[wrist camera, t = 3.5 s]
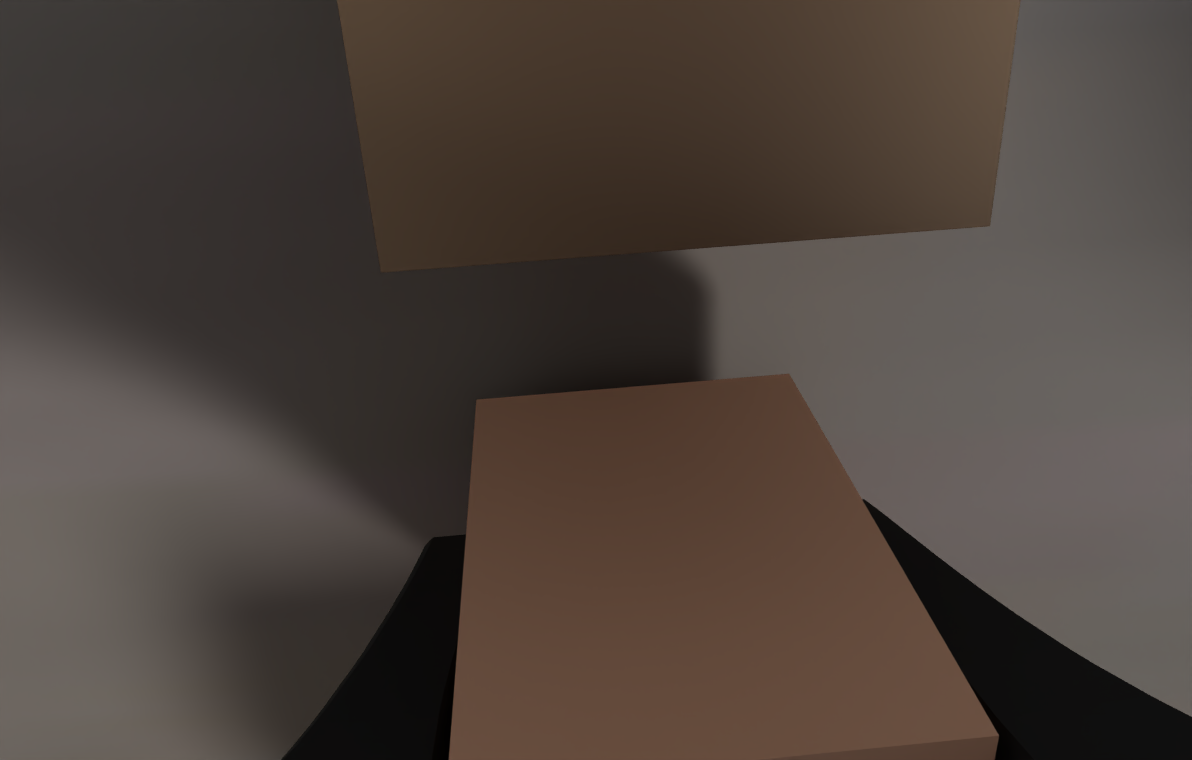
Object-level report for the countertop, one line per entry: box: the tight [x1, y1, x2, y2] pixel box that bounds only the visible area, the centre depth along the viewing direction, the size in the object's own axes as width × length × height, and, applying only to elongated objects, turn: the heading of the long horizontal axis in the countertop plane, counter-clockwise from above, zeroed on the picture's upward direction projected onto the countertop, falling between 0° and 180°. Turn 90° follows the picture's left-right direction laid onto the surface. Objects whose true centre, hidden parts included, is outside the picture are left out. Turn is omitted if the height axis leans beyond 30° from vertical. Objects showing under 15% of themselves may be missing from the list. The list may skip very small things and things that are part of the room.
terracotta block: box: [449, 374, 999, 760], centre depth 10 cm, size 4×4×6 cm
